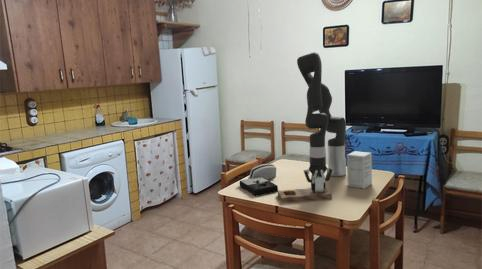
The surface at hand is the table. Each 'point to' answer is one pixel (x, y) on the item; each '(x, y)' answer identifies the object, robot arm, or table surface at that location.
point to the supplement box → (359, 169)
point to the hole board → (303, 195)
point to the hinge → (263, 171)
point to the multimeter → (258, 186)
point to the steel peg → (319, 185)
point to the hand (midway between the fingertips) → (318, 189)
